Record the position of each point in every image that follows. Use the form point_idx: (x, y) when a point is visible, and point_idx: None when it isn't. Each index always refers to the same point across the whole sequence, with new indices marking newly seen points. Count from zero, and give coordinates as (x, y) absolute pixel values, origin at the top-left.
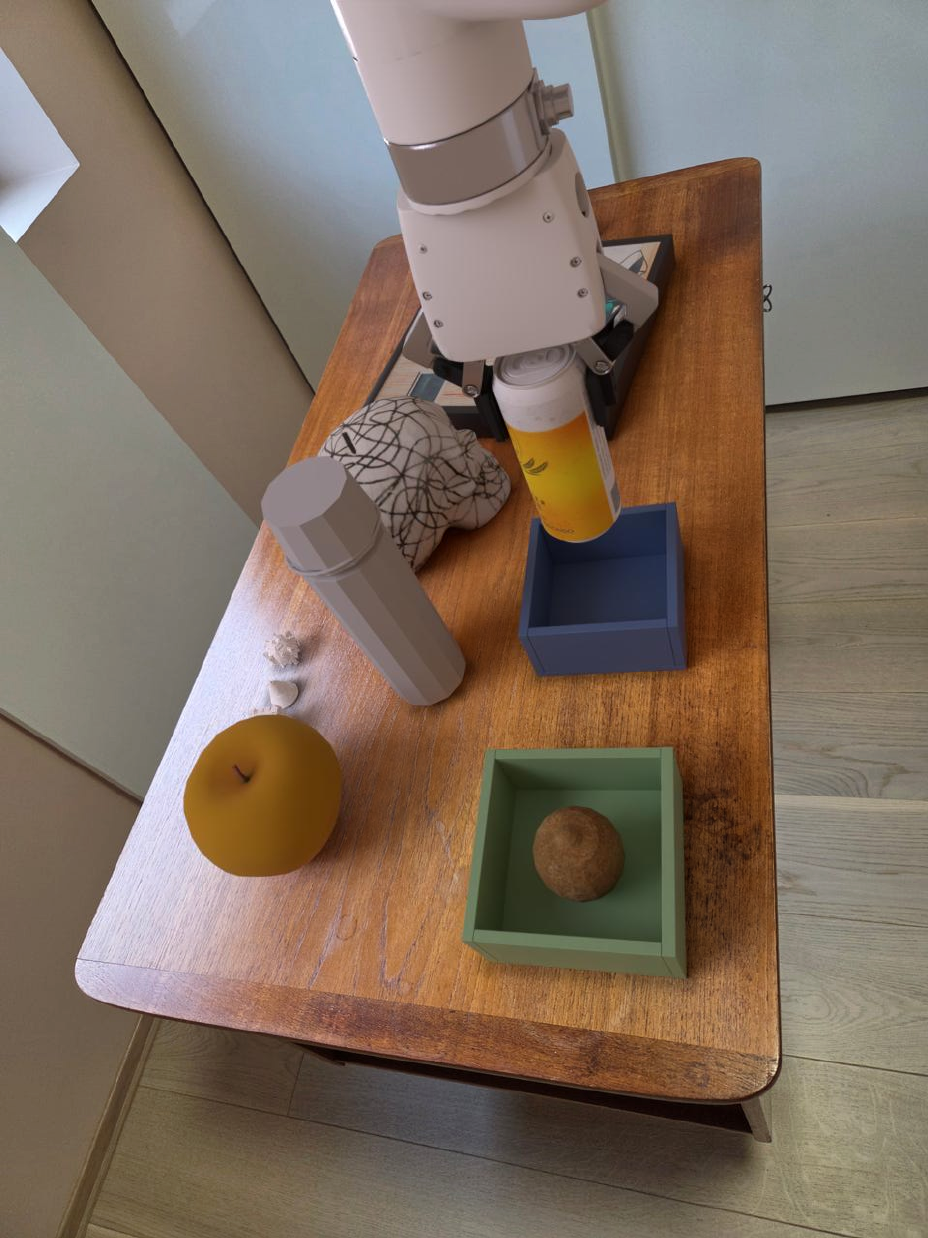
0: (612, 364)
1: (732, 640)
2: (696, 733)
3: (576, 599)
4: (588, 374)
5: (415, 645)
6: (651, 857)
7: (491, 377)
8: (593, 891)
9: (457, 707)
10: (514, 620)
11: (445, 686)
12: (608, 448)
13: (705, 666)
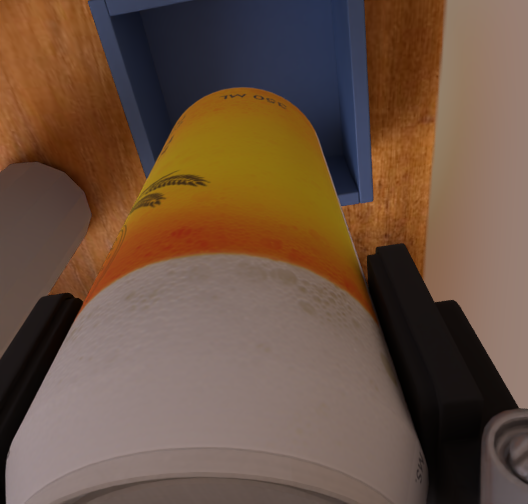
0: (499, 376)
1: (406, 114)
2: (366, 228)
3: (195, 75)
4: (429, 499)
5: None
6: None
7: (5, 492)
8: None
9: (100, 235)
10: (115, 110)
11: (80, 241)
12: (338, 198)
13: (374, 152)
